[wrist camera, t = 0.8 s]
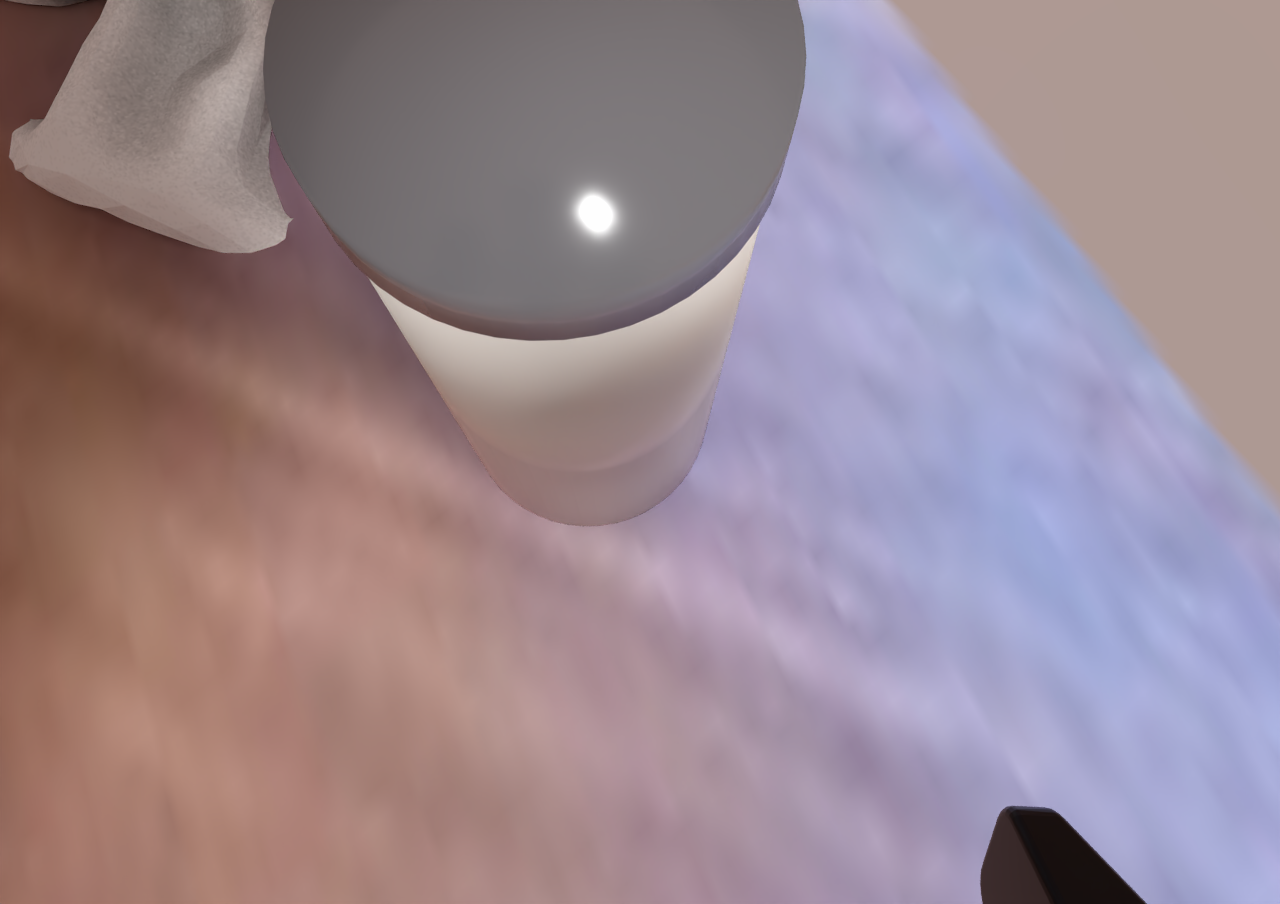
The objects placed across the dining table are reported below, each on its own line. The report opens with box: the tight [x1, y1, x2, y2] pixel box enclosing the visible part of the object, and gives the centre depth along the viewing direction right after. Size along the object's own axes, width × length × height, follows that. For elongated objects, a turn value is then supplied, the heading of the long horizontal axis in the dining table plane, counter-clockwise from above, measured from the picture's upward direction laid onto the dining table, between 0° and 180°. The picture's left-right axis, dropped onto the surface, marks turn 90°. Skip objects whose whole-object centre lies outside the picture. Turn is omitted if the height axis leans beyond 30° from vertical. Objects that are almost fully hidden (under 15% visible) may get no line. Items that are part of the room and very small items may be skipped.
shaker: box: [263, 0, 806, 526], centre depth 17 cm, size 6×6×13 cm
